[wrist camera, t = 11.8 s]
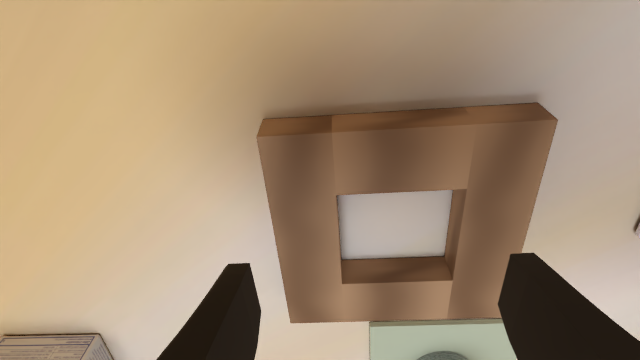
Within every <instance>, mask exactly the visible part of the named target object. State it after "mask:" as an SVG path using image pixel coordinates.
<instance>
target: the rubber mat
mask: <svg viewBox="0 0 640 360" xmlns="http://www.w3.org/2000/svg"><path fill="white" fill-rule="evenodd" d="M369 329H370V360H417V359H418V358H420V357H421V356H423V355H425V354H428V353H432V352H437V351H450V352H455V353H458V354H461V355H463V356H464V357H466V358H467V359H468V360H516V358H517V357H516V355H515V353H514V351H513V348H512V346H511V344H510V341H509V339H508V336H507V333H506V330H505V327H504V324H503V320H502V319H469V320H430V321H392V322H369Z"/></svg>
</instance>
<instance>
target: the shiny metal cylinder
mask: <svg viewBox="0 0 640 360" xmlns="http://www.w3.org/2000/svg"><path fill="white" fill-rule="evenodd" d="M417 360H468V359H467V358H466V357H464V356H463V355H461V354H458V353H455V352H450V351H437V352H432V353H428V354H425V355H423V356H421V357H420V358H418V359H417Z"/></svg>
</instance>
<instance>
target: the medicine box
mask: <svg viewBox="0 0 640 360" xmlns="http://www.w3.org/2000/svg"><path fill="white" fill-rule="evenodd" d="M0 360H113V359H112V356H111V354H110V352H109V351H108V349H107V347H106V345H105V344H104V342H103V340H102V338H101V337H100V335H98V334H95V335H48V336H2V337H1V338H0Z"/></svg>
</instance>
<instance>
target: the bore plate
mask: <svg viewBox="0 0 640 360" xmlns="http://www.w3.org/2000/svg"><path fill="white" fill-rule="evenodd" d="M557 121H558V119H557V118H555V117H554V116H553V115H552V114H551V113H549V112H548V111H547V110H546V109H545V108H543V107H542V106H541V105H540V104H539V103H525V104H509V105H492V106H476V107H459V108H443V109H426V110H410V111H393V112H376V113H360V114H343V115H327V116H310V117H294V118H277V119H263V121H262V124H261V126H260V129H259V132H258V135H257V142H258V148H259V153H260V158H261V164H262V169H263V175H264V180H265V186H266V191H267V197H268V202H269V208H270V213H271V219H272V224H273V230H274V235H275V240H276V246H277V251H278V257H279V262H280V268H281V273H282V279H283V284H284V290H285V295H286V301H287V306H288V312H289V317H290V322H291V323H318V322H356V321H394V320H432V319H470V318H502V317H501V314H500V310H499V307H498V301H499V297H500V293H501V289H502V285H503V281H504V277H505V273H506V269H507V265H508V262H509V258H510V254H516V253H521V252H522V248H523V245H524V241H525V237H526V234H527V230H528V226H529V223H530V219H531V216H532V212H533V208H534V205H535V201H536V197H537V194H538V190H539V187H540V183H541V179H542V176H543V172H544V168H545V165H546V161H547V158H548V154H549V150H550V147H551V143H552V139H553V136H554V132H555V129H556V125H557ZM435 190H453V195H452V203H451V211H450V218H449V226H448V233H447V241H446V248H445V256H443V257H416V258H389V259H361V260H341V249H340V233H339V217H338V202H337V195H350V194H371V193H392V192H414V191H435Z"/></svg>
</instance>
